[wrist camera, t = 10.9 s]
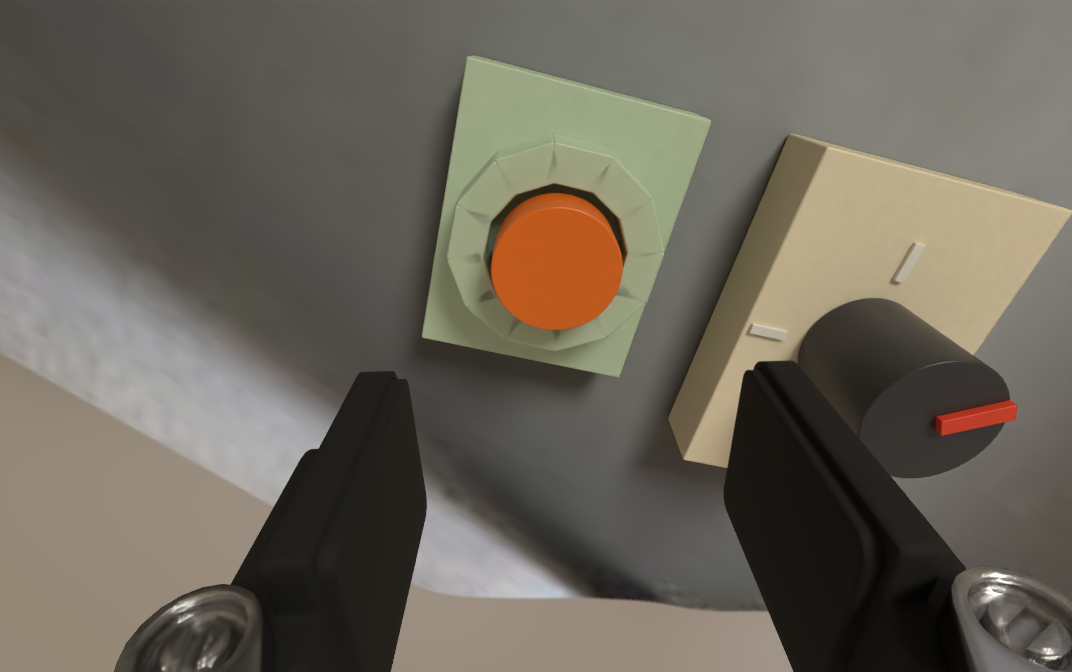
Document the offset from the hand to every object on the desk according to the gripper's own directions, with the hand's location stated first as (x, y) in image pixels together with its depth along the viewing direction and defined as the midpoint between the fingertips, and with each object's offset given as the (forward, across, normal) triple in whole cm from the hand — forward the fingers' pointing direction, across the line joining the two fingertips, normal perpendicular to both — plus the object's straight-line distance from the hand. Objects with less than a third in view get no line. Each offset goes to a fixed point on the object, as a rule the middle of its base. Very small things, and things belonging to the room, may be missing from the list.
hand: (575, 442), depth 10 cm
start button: (+10, 0, 0) cm, 10 cm away
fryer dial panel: (+14, -11, +4) cm, 18 cm away
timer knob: (+10, -11, +4) cm, 16 cm away
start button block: (+14, 0, 0) cm, 14 cm away
